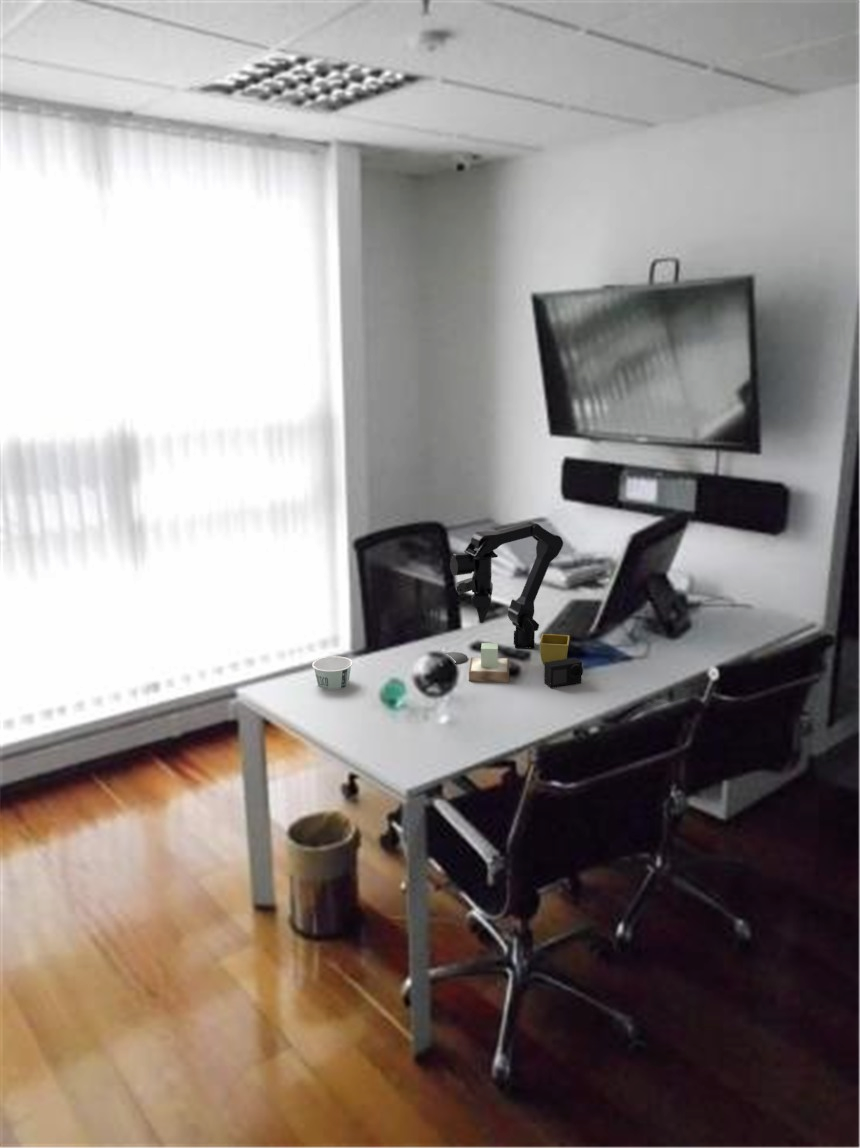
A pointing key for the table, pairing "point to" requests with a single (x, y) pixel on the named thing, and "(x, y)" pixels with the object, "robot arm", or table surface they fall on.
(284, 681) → the table surface
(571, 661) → the digital camera
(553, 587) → the table surface
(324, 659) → the food container
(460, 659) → the coaster
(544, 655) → the flower pot
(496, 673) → the plinth
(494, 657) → the block
